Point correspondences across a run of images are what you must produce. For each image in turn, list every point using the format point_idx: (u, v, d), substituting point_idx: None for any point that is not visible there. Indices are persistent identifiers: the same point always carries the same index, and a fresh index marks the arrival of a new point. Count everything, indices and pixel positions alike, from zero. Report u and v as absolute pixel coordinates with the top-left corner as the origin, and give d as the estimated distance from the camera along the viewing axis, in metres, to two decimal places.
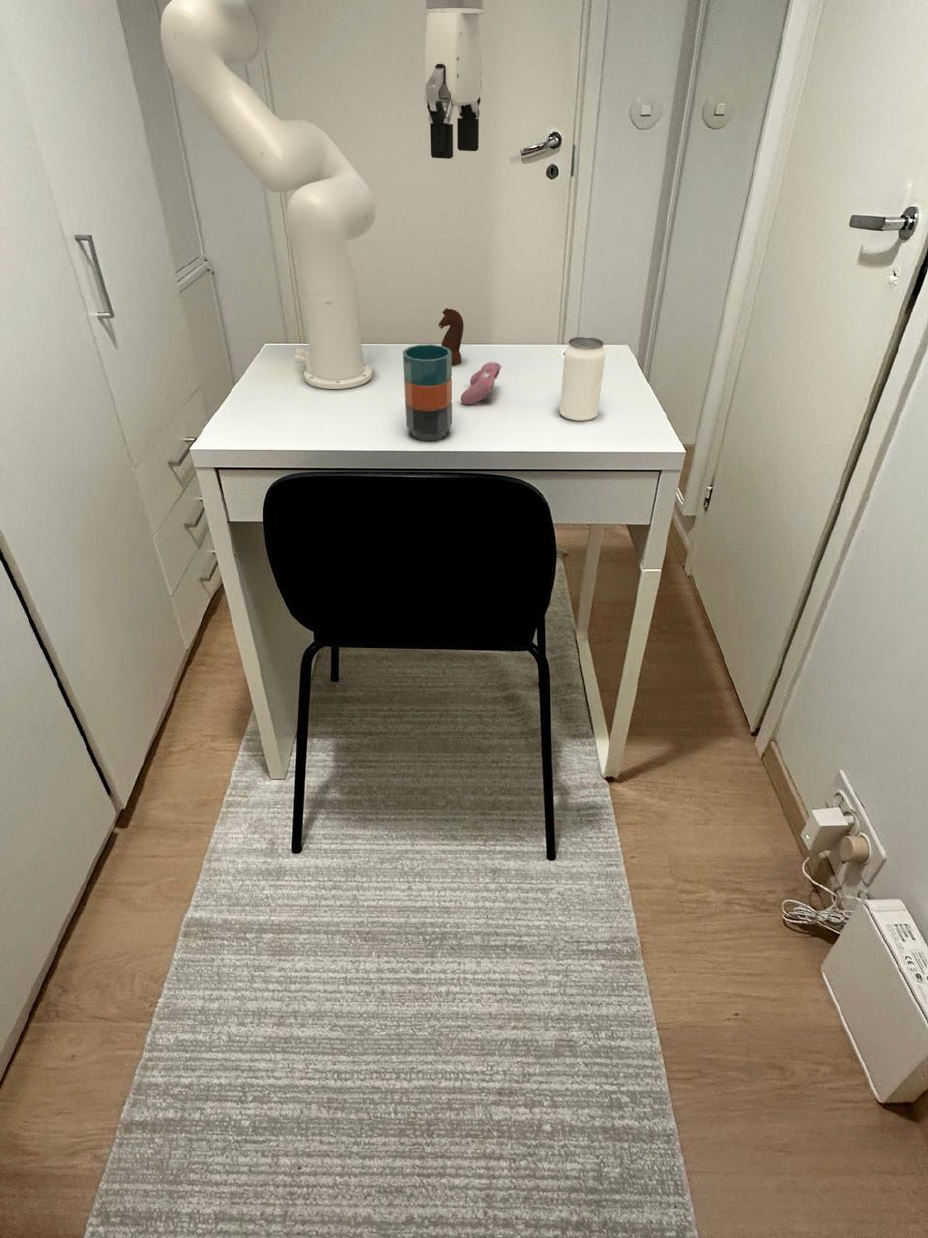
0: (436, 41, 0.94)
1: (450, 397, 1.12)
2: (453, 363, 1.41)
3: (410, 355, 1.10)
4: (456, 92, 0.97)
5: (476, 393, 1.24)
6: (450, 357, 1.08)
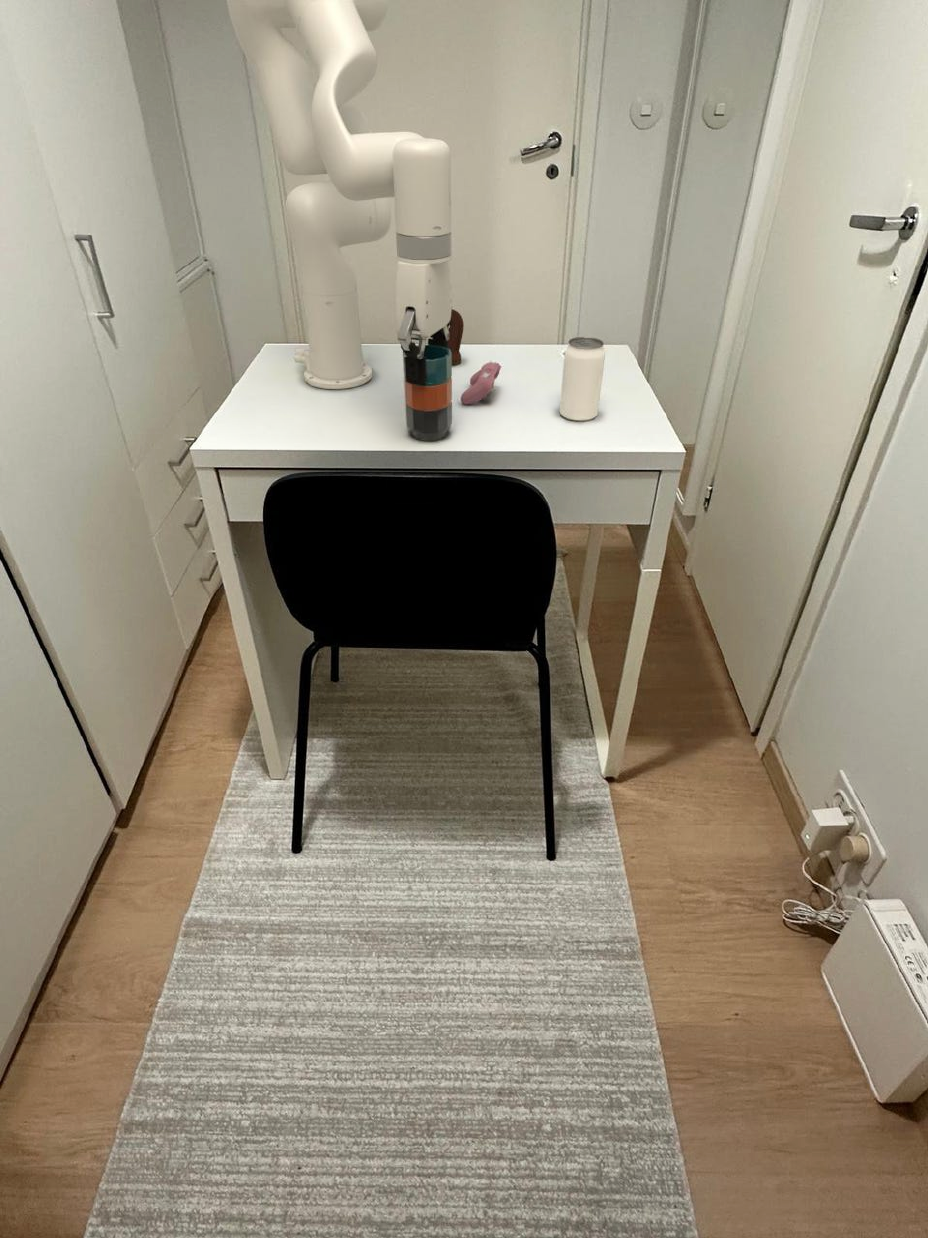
0: (406, 288, 0.99)
1: (450, 397, 1.12)
2: (453, 363, 1.41)
3: None
4: (426, 329, 1.02)
5: (476, 393, 1.24)
6: (450, 357, 1.08)
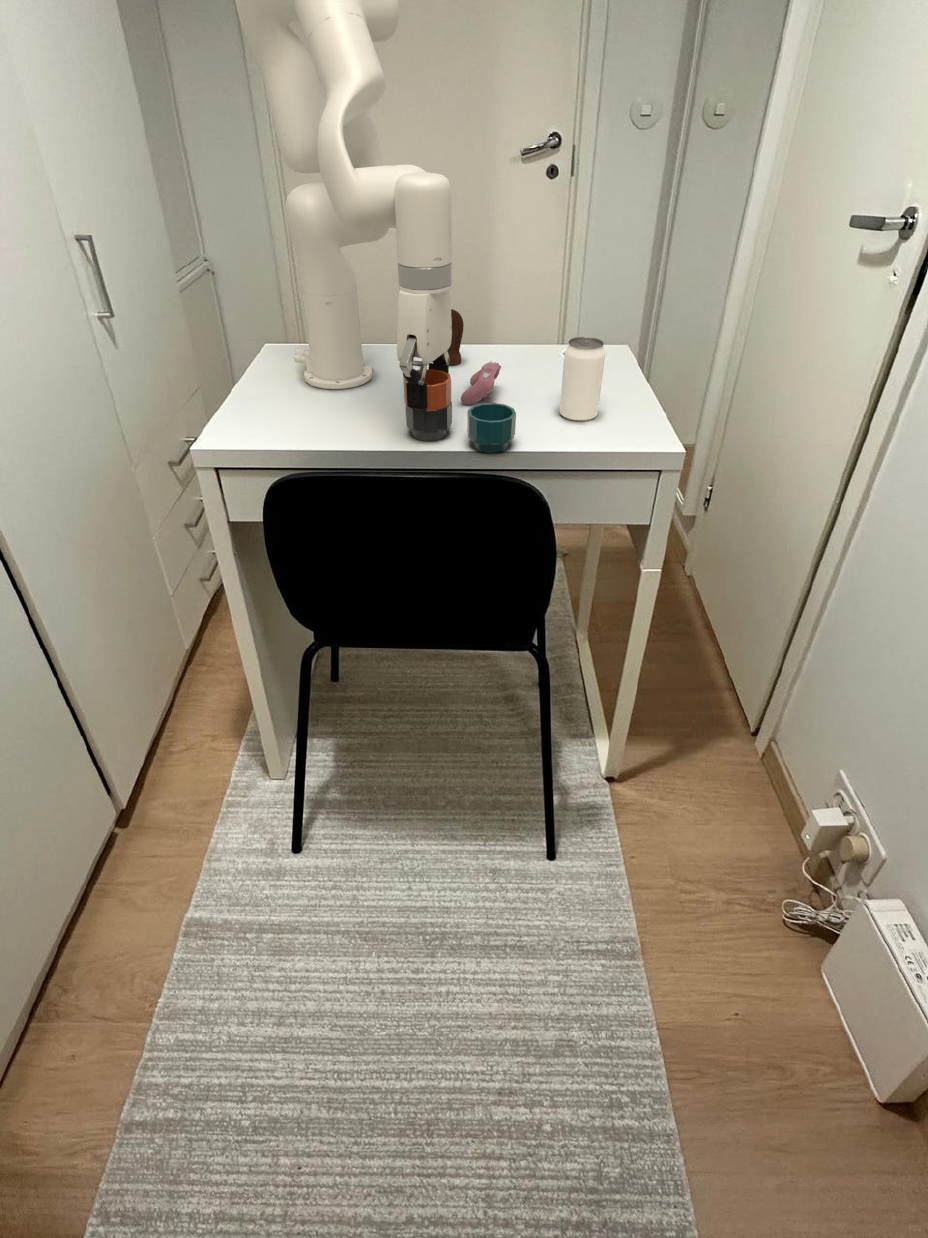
0: (407, 316, 1.01)
1: (449, 397, 1.12)
2: (453, 363, 1.41)
3: (474, 414, 1.12)
4: (427, 357, 1.04)
5: (476, 393, 1.24)
6: (515, 417, 1.10)
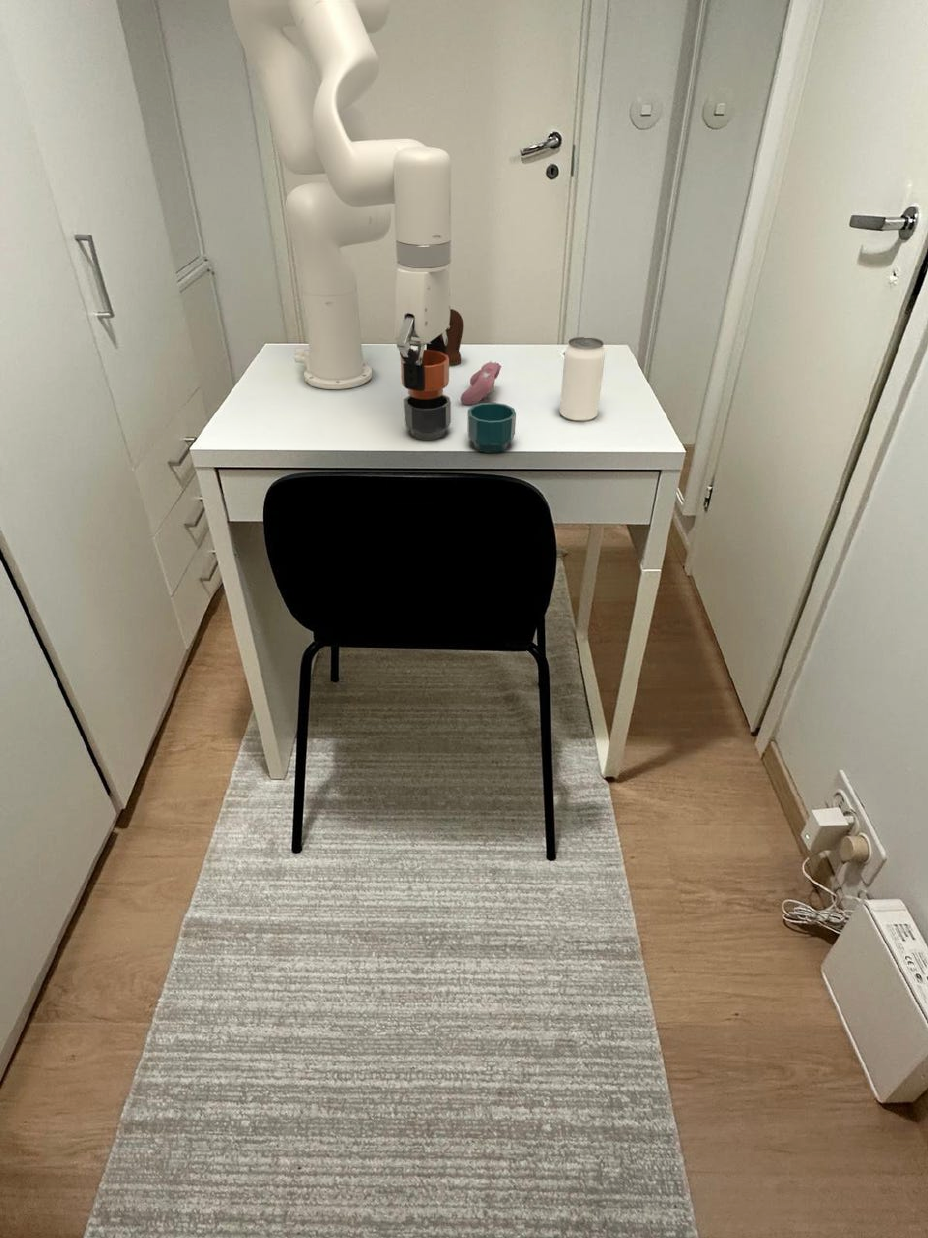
0: (405, 295, 1.00)
1: (447, 378, 1.10)
2: (453, 363, 1.41)
3: (474, 414, 1.12)
4: (425, 336, 1.03)
5: (476, 393, 1.24)
6: (515, 417, 1.10)
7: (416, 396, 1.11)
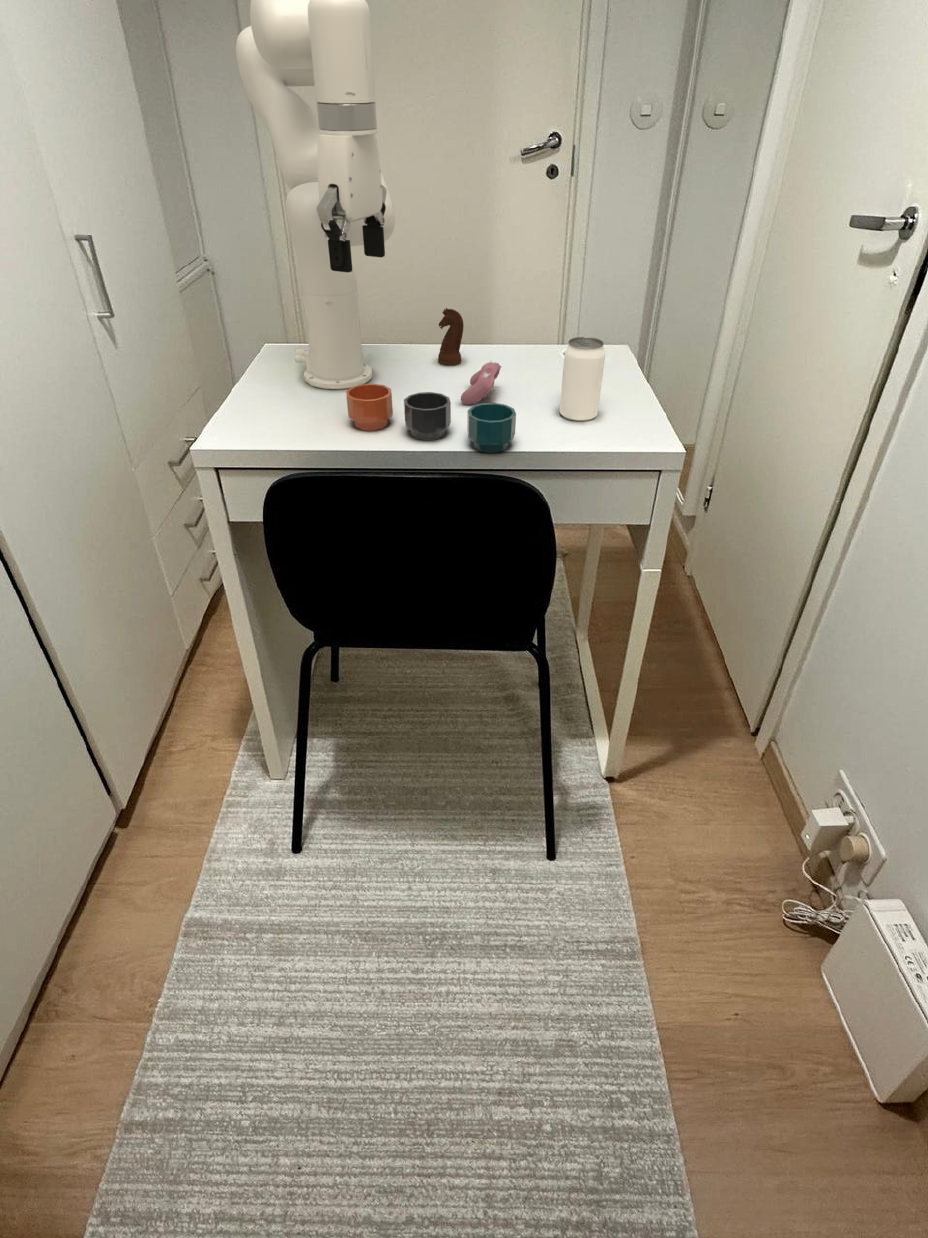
0: (327, 162, 0.93)
1: (391, 410, 1.17)
2: (453, 363, 1.41)
3: (474, 414, 1.12)
4: (351, 210, 0.96)
5: (476, 393, 1.24)
6: (515, 417, 1.10)
7: (362, 427, 1.17)
